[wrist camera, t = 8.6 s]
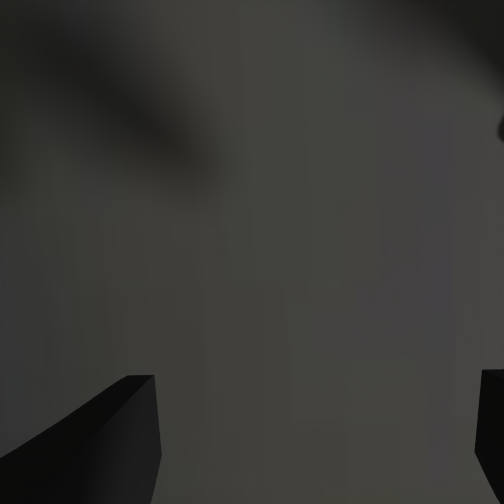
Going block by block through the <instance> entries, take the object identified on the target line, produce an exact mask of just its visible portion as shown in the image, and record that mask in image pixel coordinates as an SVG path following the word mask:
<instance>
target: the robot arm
mask: <svg viewBox="0 0 504 504" xmlns="http://www.w3.org/2000/svg"><path fill="white" fill-rule="evenodd" d="M475 454H476V456H477V458H478V460H479V463H480V465H481V467H482V469H483V471H484V473H485V476H486V478H487V480H488V482H489V484H490V485H491V487H492V489H493V491H494V493H495V495H496V497H497V499H498V500H499V502H500V504H504V369H494V370H482V376H481V387H480V398H479V409H478V420H477V431H476V442H475ZM161 456H162V453H161V443H160V432H159V421H158V410H157V400H156V389H155V378H154V375H130V376H126V377H124V378H122V379H120V380H119V381H117V382H116V383H114V384H113V385H111V386H110V387H108V388H107V389H105V390H104V391H103V392H101V393H100V394H98V395H97V396H95V397H94V398H93V399H91V400H90V401H88V402H87V403H85V404H84V405H82V406H81V407H80V408H78V409H77V410H75V411H74V412H72V413H71V414H69V415H68V416H67V417H65V418H64V419H62V420H61V421H59V422H58V423H56V424H55V425H53V426H51V427H50V428H48V429H47V430H45V431H44V432H42V433H40V434H39V435H37V436H36V437H34V438H32V439H31V440H29V441H28V442H26V443H25V444H23V445H21V446H20V447H18V448H17V449H15V450H13V451H12V452H10V453H8V454H7V455H5V456H3V457H1V458H0V504H150V502H151V500H152V496H153V491H154V487H155V483H156V479H157V474H158V470H159V465H160V460H161Z"/></svg>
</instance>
